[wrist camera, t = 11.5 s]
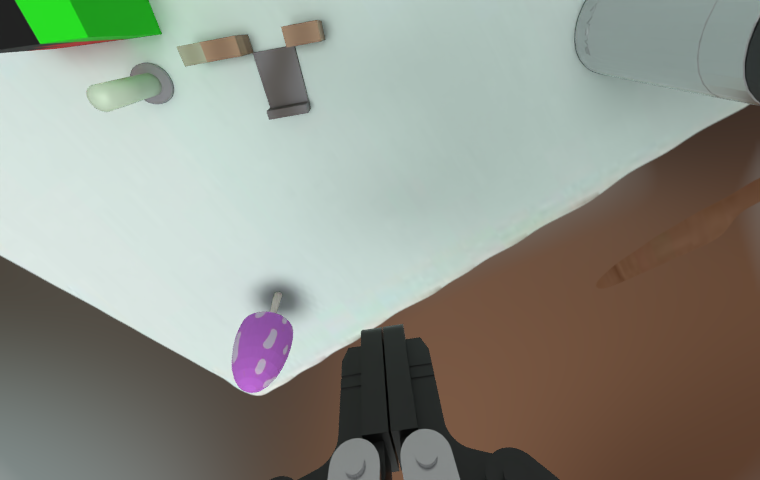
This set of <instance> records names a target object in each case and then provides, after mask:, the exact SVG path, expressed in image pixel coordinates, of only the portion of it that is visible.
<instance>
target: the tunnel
mask: <svg viewBox="0 0 760 480" xmlns="http://www.w3.org/2000/svg"><path fill="white" fill-rule="evenodd" d="M281 28H282V32H283V36H284V39H285V43H286V47H282V48H277V49H271V50H266V51H261V52H255V53H254V52H253V49H252V46H251V43H250V40H249V37H248V35H237V36H230V37H225V38H220V39H215V40H209V41H204V42H199V43H193V44H188V45H183V46H178V47H177V49H178V51H179V54H180V56H181V58H182V61H183V63H184V65H185V66H191V65H196V64H201V63H207V62H212V61H217V60H223V59H228V58H233V57H239V56H243V55H247V54H251V53H253V55H254V58H255V61H256V65H257V68H258V71H259V74H260V77H261V80H262V83H263V86H264V90H265V93H266V96H267V99H268V102H269V105H270V109H269V110H267V114H268V117H269V120H270V119H276V118H281V117H287V116H293V115H298V114H304V113H308V112H309V111H310V109H311V108H310V104H309V100H308V96H307V92H306V88H305V84H304V81H303V77H302V73H301V69H300V65H299V61H298V57H297V53H296V50H295V46H298V45H303V44H308V43H314V42H319V41H323V40H325V36H324V31H323V27H322V22H321V21H320V20H315V21H309V22H304V23H299V24H294V25H288V26H283V27H281Z"/></svg>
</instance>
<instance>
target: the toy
mask: <svg viewBox="0 0 760 480" xmlns="http://www.w3.org/2000/svg"><path fill="white" fill-rule="evenodd" d="M281 298H282V294H281V293H280V292H276V293H275V294H274V297H273V301H272V305H271V309H270V312H257V313H254V314H251V315H249V316H248V317H246V318H245V319H244V320H243V322H242V324H241V326H240V328H239V330H238V333H237V335H236V338H235V342H234V346H233V353H232V371H233V375H234V379H235V381H236V383H237V385H238V386H239V388H240V389H242V390H243V391H246V392H249V393H253V392H259V391H261V390H262V389H264V388H266V387H267V386H268V385H269V384H270V383H271V382H272V381H273V380H274V379H275V378H276V377H277V375H278V374H279V373H280V371H281V370H282V368H283V366H284V364H285V362H286V359H287V357H288V354H289V351H290V348H291V344H292V340H293V328H292V325H291V324H290V322H289V321H288V320H287V319H286V318H284V317H283V316H281V315H279V314H276V313H277V310H278V307H279V304H280V301H281Z"/></svg>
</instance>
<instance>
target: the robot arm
mask: <svg viewBox="0 0 760 480" xmlns="http://www.w3.org/2000/svg"><path fill="white" fill-rule="evenodd" d="M575 44H576V51H577V54H578V56H579V58H580V60H581V62H582V63H583V64H584V65H585V67H587V68H588V69H590V70H591V71H593V72H596V73H599V74H603V75H608V76H613V77H618V78H623V79H627V80H632V81H637V82H642V83H647V84H652V85H657V86H662V87H667V88H672V89H677V90H682V91H687V92H692V93H697V94H702V95H707V96H712V97H717V98H723V99H728V100H734V101H739V102H744V103H748V104H754V105H759V106H760V0H586V2H585V3H584V5H583V8H582V10H581V13H580V15H579V18H578V22H577V26H576V32H575ZM398 460H399V462H398ZM399 463H400V467H401V470H402V472H403V478H404V480H559V479H558V478H557V477H555V475H553V474H552V473H551V472H550V471H548V470H547V469H546V468H545V467H543V466H542V465H541V464H540V463H538V462H537V461H536V460H535V459H534V458H532V457H531V456H530V455H528V454H527V453H525V452H523V451H521V450H519V449H516V448H502V449H499V450H497V451H495V452H494V453H493V454H492V453H487V452H483V451H479V450H475V449H471V448H467V447H465V446H463V445H461V444H460V443H458V442H457V441H456V440H455V439H454V438H453V437H452V436H451V435H450V433H449V432H448V430H447V428H446V426H445V423H444V418H443V413H442V409H441V404H440V399H439V395H438V391H437V386H436V381H435V377H434V371H433V367H432V363H431V357H430V353H429V349H428V347H427V346H426V345H425V343H424V342H423V341H422V339H421V338H420V337H419V338H413V339H405V334H404V328H403V324H401V325H394V326H387V327H383V330H382V327H381V328H374V329H368V330H362V331H361V346H360V347H352V348H348V351H347V353H346V355H345V357H344V359H343V361H342V379H341V396H340V416H339V436H338V442H337V446H336V448H335V451H334V453H333V454H332V456H331V457H330V459H329V460H328V461H327V462H326V463H325V464H324V465H323V466H322V467H320V468H319V469H317V470H315V471H313V472H311V473H310V474H308V475H306V476H304V477H302V478H300V479H298V480H392V472H396V471H399ZM271 480H293V479H291V478H289V477H284V476H279V477H275V478H273V479H271Z"/></svg>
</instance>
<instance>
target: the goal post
mask: <svg viewBox="0 0 760 480" xmlns="http://www.w3.org/2000/svg"><path fill="white" fill-rule="evenodd" d="M173 92H174V87H173V83H172V80H171V78H170V77H169V75H168V74H167V73H166V72H165V71H164V70H163V69H162V68H160V67H159V66H157V65H155V64H151V63H143V64H138V65H136V66H135V67H134V68H133V69H132V71H131V74H130V77H126V78H122V79H117V80H113V81H108V82H104V83H99V84H95V85H91V86H90V87H89V88H88V89H87V98H88V100H89V101H90V103H91V104H92V105H93V106H94V107H95V108H96V109H98V110H100V111H103V112H110V111H113V110H116V109H119V108H122V107H124V106H127V105H130V104H133V103H136V102H139V101H142V100H145V101H147V102H149V103H152V104H162V103H165V102H167V101H169V100H170V99H171V97H172V96H173Z"/></svg>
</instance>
